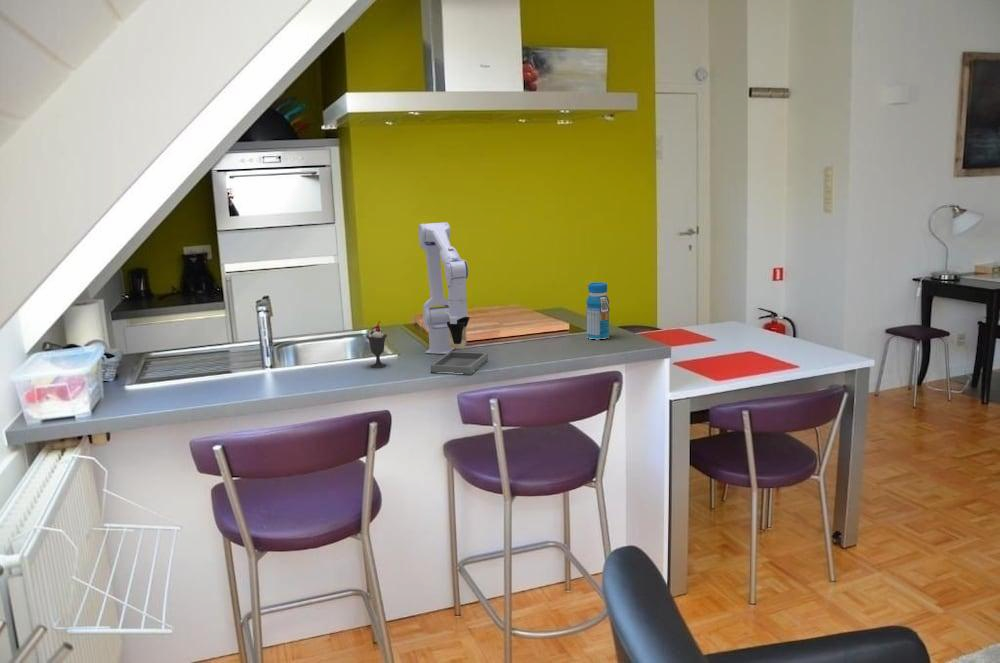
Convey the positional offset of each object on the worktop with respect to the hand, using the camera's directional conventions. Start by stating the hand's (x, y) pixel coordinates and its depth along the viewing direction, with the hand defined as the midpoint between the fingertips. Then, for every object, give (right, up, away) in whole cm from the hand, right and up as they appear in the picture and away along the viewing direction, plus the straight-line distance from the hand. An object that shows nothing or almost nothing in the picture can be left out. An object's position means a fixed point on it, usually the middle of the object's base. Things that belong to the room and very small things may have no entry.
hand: (459, 341), depth 248 cm
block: (0, -1, 0) cm, 2 cm away
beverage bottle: (+48, +1, +36) cm, 60 cm away
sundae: (-26, -8, +5) cm, 28 cm away
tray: (0, -8, +2) cm, 8 cm away
